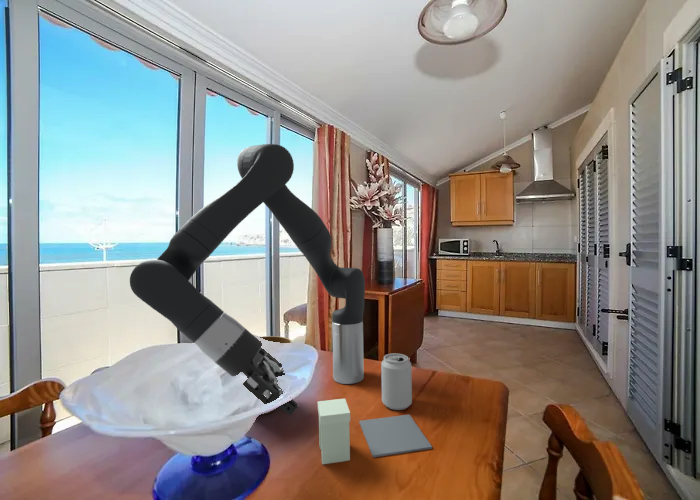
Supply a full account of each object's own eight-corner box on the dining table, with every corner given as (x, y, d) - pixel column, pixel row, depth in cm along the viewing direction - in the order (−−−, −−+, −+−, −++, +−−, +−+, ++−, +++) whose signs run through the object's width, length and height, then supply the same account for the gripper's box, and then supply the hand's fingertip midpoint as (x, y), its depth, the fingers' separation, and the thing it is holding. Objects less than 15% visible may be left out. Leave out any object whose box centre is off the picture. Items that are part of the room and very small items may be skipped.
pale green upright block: (318, 445, 64) (317, 401, 64) (345, 441, 65) (345, 398, 65) (321, 464, 58) (320, 416, 58) (351, 460, 60) (350, 412, 59)
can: (411, 413, 75) (411, 363, 75) (380, 410, 77) (379, 361, 77) (412, 398, 83) (411, 352, 83) (383, 395, 84) (382, 350, 84)
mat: (359, 422, 72) (359, 420, 72) (409, 416, 74) (409, 414, 74) (373, 457, 60) (372, 455, 60) (432, 448, 62) (432, 446, 62)
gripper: (237, 339, 51) (310, 401, 54) (248, 319, 65) (306, 369, 68) (203, 375, 50) (279, 436, 53) (222, 346, 64) (281, 396, 67)
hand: (294, 398), depth 60 cm, fingers open, 8 cm apart
